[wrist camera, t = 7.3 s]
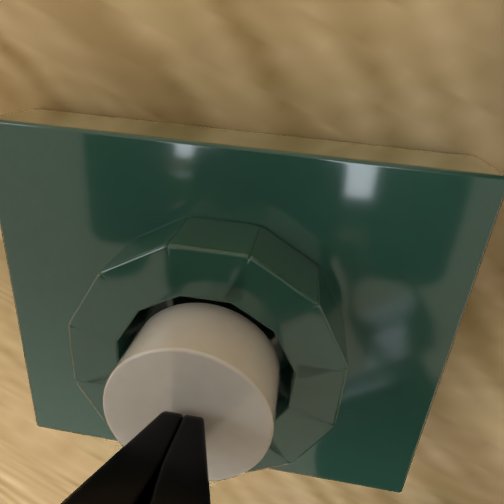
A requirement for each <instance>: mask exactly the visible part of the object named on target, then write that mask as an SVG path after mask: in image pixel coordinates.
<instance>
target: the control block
mask: <svg viewBox="0 0 504 504" xmlns="http://www.w3.org/2000/svg"><path fill="white" fill-rule="evenodd" d="M503 198H504V174H503V173H502V172H500V171H498V170H497V169H495V168H494V167H492V166H490V165H489V164H487V163H485V162H484V161H482V160H481V159H479V158H477V157H476V156H471V155H462V154H453V153H444V152H434V151H425V150H416V149H407V148H397V147H388V146H379V145H370V144H360V143H351V142H342V141H332V140H323V139H314V138H305V137H295V136H286V135H277V134H268V133H258V132H249V131H240V130H231V129H221V128H212V127H203V126H193V125H184V124H175V123H166V122H156V121H147V120H138V119H129V118H119V117H110V116H101V115H92V114H82V113H73V112H64V111H54V110H45V109H31V110H25V111H20V112H14V113H8V114H3V115H0V225H1V231H2V236H3V242H4V247H5V253H6V258H7V264H8V269H9V274H10V280H11V285H12V291H13V296H14V302H15V307H16V313H17V318H18V324H19V329H20V334H21V340H22V345H23V351H24V356H25V362H26V367H27V373H28V378H29V384H30V389H31V394H32V400H33V405H34V411H35V416H36V422H37V425H38V426H39V427H45V428H50V429H56V430H61V431H67V432H72V433H78V434H83V435H88V436H94V437H99V438H105V439H110V440H116V441H118V440H117V439H116V437H115V436H114V434H113V433H112V431H111V430H110V427H109V425H108V423H107V421H106V418H105V415H104V409H103V394H104V388H105V385H106V382H107V380H108V378H109V376H110V374H111V373H112V371H113V370H114V368H115V367H116V365H117V364H118V362H119V361H120V359H121V358H122V356H123V355H124V353H125V352H126V350H127V348H128V347H129V345H130V344H131V342H132V341H133V339H134V338H135V336H136V335H137V333H138V332H139V330H140V329H141V327H142V326H143V325H144V324H145V322H146V321H147V320H148V319H149V318H151V317H152V316H153V315H154V314H156V313H158V312H159V311H161V310H163V309H166V308H168V307H170V306H174V305H177V304H183V303H193V302H200V303H210V304H215V305H219V306H222V307H226V308H229V309H231V310H233V311H235V312H238V313H240V314H241V315H243V316H245V317H246V318H248V319H249V320H250V321H252V322H253V323H254V324H256V325H257V326H258V327H259V328H260V329H261V330H262V331H263V332H264V333H265V335H266V336H267V337H268V338H269V340H270V342H271V343H272V345H273V347H274V349H275V351H276V353H277V356H278V359H279V363H280V371H281V373H280V385H279V393H278V401H277V409H276V418H275V426H274V434H273V438H272V443H271V445H270V447H269V449H268V451H267V453H266V454H265V455H264V457H263V458H262V459H261V460H260V461H259V463H258V464H257V465H255V466H254V467H253V468H251V469H250V470H248V471H246V472H245V473H247V472H252V471H256V470H261V469H266V468H268V469H274V470H279V471H284V472H290V473H295V474H301V475H306V476H312V477H317V478H323V479H328V480H334V481H339V482H344V483H350V484H355V485H361V486H366V487H372V488H377V489H383V490H388V491H393V492H401V491H402V488H403V486H404V483H405V480H406V477H407V474H408V471H409V468H410V465H411V463H412V460H413V457H414V454H415V451H416V448H417V445H418V442H419V440H420V437H421V434H422V431H423V428H424V425H425V422H426V419H427V417H428V414H429V411H430V408H431V405H432V402H433V399H434V396H435V394H436V391H437V388H438V385H439V382H440V379H441V376H442V373H443V371H444V368H445V365H446V362H447V359H448V356H449V353H450V350H451V348H452V345H453V342H454V339H455V336H456V333H457V330H458V327H459V324H460V322H461V319H462V316H463V313H464V310H465V307H466V304H467V301H468V299H469V296H470V293H471V290H472V287H473V284H474V281H475V278H476V276H477V273H478V270H479V267H480V264H481V261H482V258H483V255H484V253H485V250H486V247H487V244H488V241H489V238H490V235H491V232H492V230H493V227H494V224H495V221H496V218H497V215H498V212H499V209H500V207H501V204H502V201H503Z"/></svg>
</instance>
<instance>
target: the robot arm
mask: <svg viewBox="0 0 504 504" xmlns="http://www.w3.org/2000/svg"><path fill="white" fill-rule="evenodd" d="M61 504H210V490H209V477H208V464H207V450H206V437H205V424H204V419H203V418H202V417H198V416H192V415H185V416H184V417H183V415H182V414H180V413H175V412H169V411H164V412H162V413H160V414H159V415H158V416H157V417H156V418H155V419H154V420H153V421H152V422H150V423H149V424H148V425H147V426H146V427H145V428H144V429H143V430H142V431H140V432H139V433H138V434H137V435H136V436H135V437H134V438H133V439H132V440H131V441H129V442H128V443H127V444H126V445H125V446H124V447H123V448H122V449H121V450H119V451H118V452H117V453H116V454H115V455H114V456H113V457H112V458H111V459H109V460H108V461H107V462H106V463H105V464H104V465H103V466H102V467H101V468H100V469H98V470H97V471H96V472H95V473H94V474H93V475H92V476H91V477H90V478H88V479H87V480H86V481H85V482H84V483H83V484H82V485H81V486H80V487H79V488H77V489H76V490H75V491H74V492H73V493H72V494H71V495H70V496H69V497H67V498H66V499H65V500H64V501H63V502H62V503H61Z"/></svg>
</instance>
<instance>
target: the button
mask: <svg viewBox="0 0 504 504" xmlns="http://www.w3.org/2000/svg"><path fill="white" fill-rule="evenodd" d="M280 373H281V371H280V363H279V359H278V356H277V353H276V351H275V349H274V347H273V345H272V343H271V342H270V340H269V338H268V337H267V336H266V335H265V333H264V332H263V331H262V330H261V329H260V328H259V327H258V326H257V325H256V324H254V323H253V322H252V321H250V320H249V319H248V318H246V317H245V316H243V315H241V314H240V313H238V312H235V311H233V310H231V309H229V308H226V307H222V306H219V305H215V304H210V303H200V302H193V303H183V304H177V305H174V306H170V307H168V308H166V309H163V310H161V311H159V312H158V313H156V314H154V315H153V316H152V317H151V318H149V319H148V320H147V321H146V322H145V324H144V325H143V326H142V327H141V329H140V330H139V332H138V333H137V335H136V336H135V338H134V339H133V341H132V342H131V344H130V345H129V347H128V348H127V350H126V352H125V353H124V355H123V356H122V358H121V359H120V361H119V362H118V364H117V365H116V367H115V368H114V370H113V371H112V373H111V374H110V376H109V378H108V380H107V382H106V385H105V388H104V394H103V409H104V415H105V418H106V421H107V423H108V425H109V427H110V430H111V431H112V433H113V434H114V436H115V437H116V439H117V440H118V441H119V443H120V444H121V445H122V446H123V447H124V446H125V445H126V444H127V443H128V442H129V441H131V440H132V439H133V438H134V437H135V436H136V435H137V434H138V433H139V432H140V431H142V430H143V429H144V428H145V427H146V426H147V425H148V424H149V423H150V422H152V421H153V420H154V419H155V418H156V417H157V416H158V415H159V414H160V413H162V412H164V411H169V412H175V413H180V414H182V415H183V417H184V416H185V415H192V416H198V417H202V418H203V419H204V424H205V437H206V450H207V464H208V477H209V481H219V480H225V479H229V478H233V477H236V476H238V475H241V474H243V473H245V472H246V471H248V470H250V469H251V468H253V467H254V466H255V465H257V464H258V463H259V461H260V460H261V459H262V458H263V457H264V455H265V454H266V453H267V451H268V449H269V447H270V445H271V443H272V438H273V434H274V426H275V418H276V409H277V401H278V393H279V385H280Z"/></svg>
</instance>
